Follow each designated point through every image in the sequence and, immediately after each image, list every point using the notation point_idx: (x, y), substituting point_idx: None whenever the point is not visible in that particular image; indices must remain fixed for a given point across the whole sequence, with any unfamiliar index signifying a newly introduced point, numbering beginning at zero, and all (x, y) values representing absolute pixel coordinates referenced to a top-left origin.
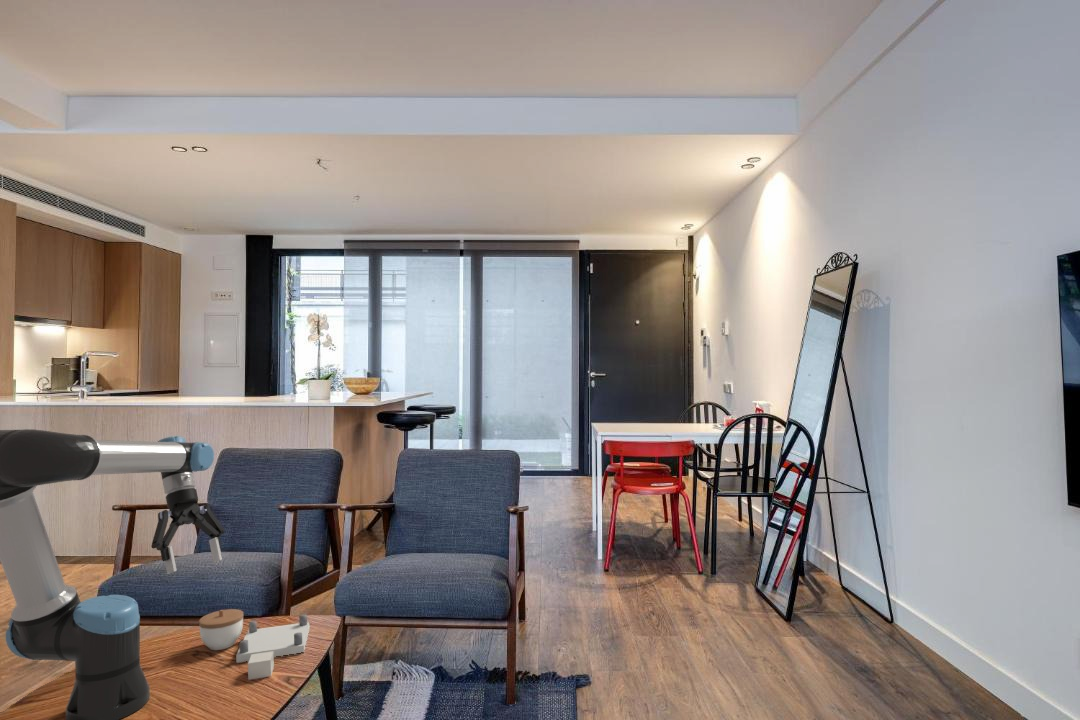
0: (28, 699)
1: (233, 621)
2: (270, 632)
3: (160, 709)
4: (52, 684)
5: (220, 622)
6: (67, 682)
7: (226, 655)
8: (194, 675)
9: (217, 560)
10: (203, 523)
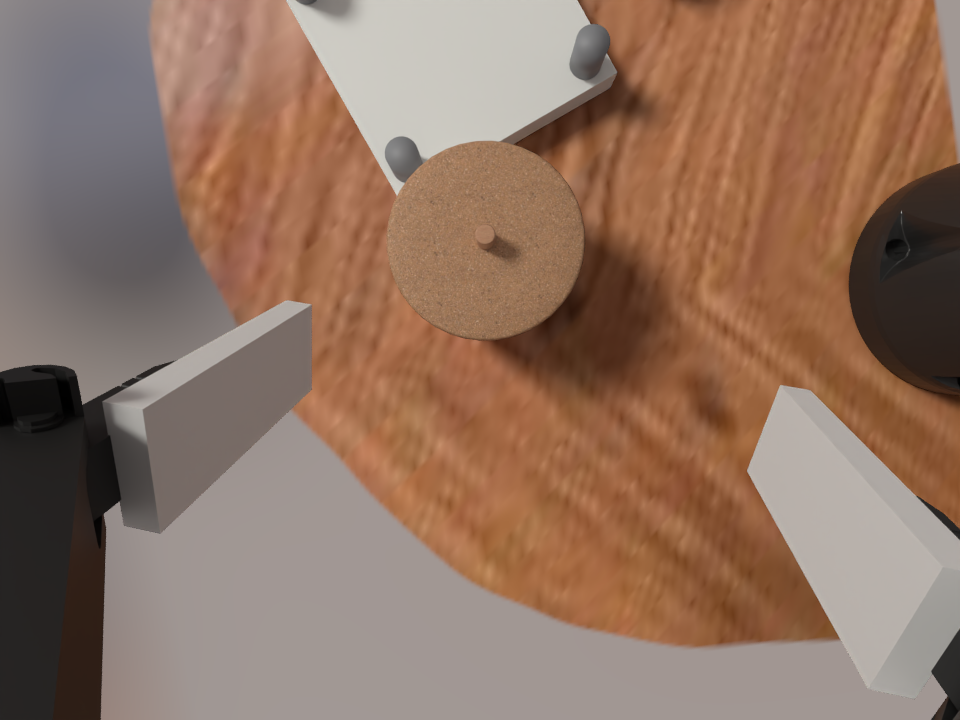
0: None
1: (513, 146)
2: (405, 81)
3: (938, 101)
4: None
5: (554, 184)
6: None
7: None
8: (719, 174)
9: (308, 338)
10: (29, 713)
